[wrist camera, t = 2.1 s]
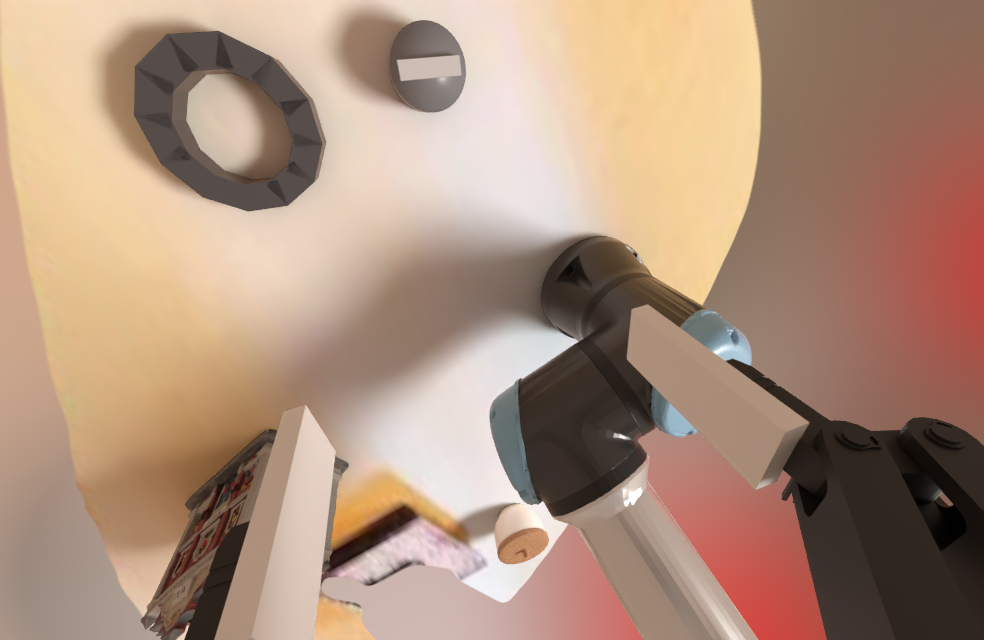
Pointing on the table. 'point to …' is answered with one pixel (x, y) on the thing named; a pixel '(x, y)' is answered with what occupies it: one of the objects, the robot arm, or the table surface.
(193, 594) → the model building
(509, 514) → the lidded jar
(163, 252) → the table surface
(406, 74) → the cap
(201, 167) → the faceted gray torus
